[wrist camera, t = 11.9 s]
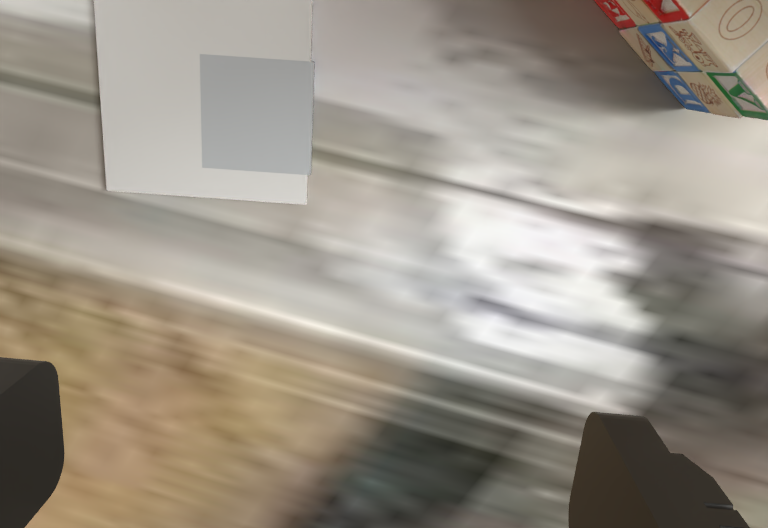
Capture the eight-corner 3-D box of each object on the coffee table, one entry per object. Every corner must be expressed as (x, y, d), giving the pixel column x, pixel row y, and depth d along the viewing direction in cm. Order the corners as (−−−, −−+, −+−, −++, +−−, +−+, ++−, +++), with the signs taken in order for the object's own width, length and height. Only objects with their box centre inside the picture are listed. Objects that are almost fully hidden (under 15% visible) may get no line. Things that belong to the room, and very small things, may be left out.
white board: (323, -227, 32) (322, -231, 32) (310, 203, 39) (309, 204, 38) (76, -244, 32) (72, -248, 32) (106, 189, 39) (103, 190, 38)
